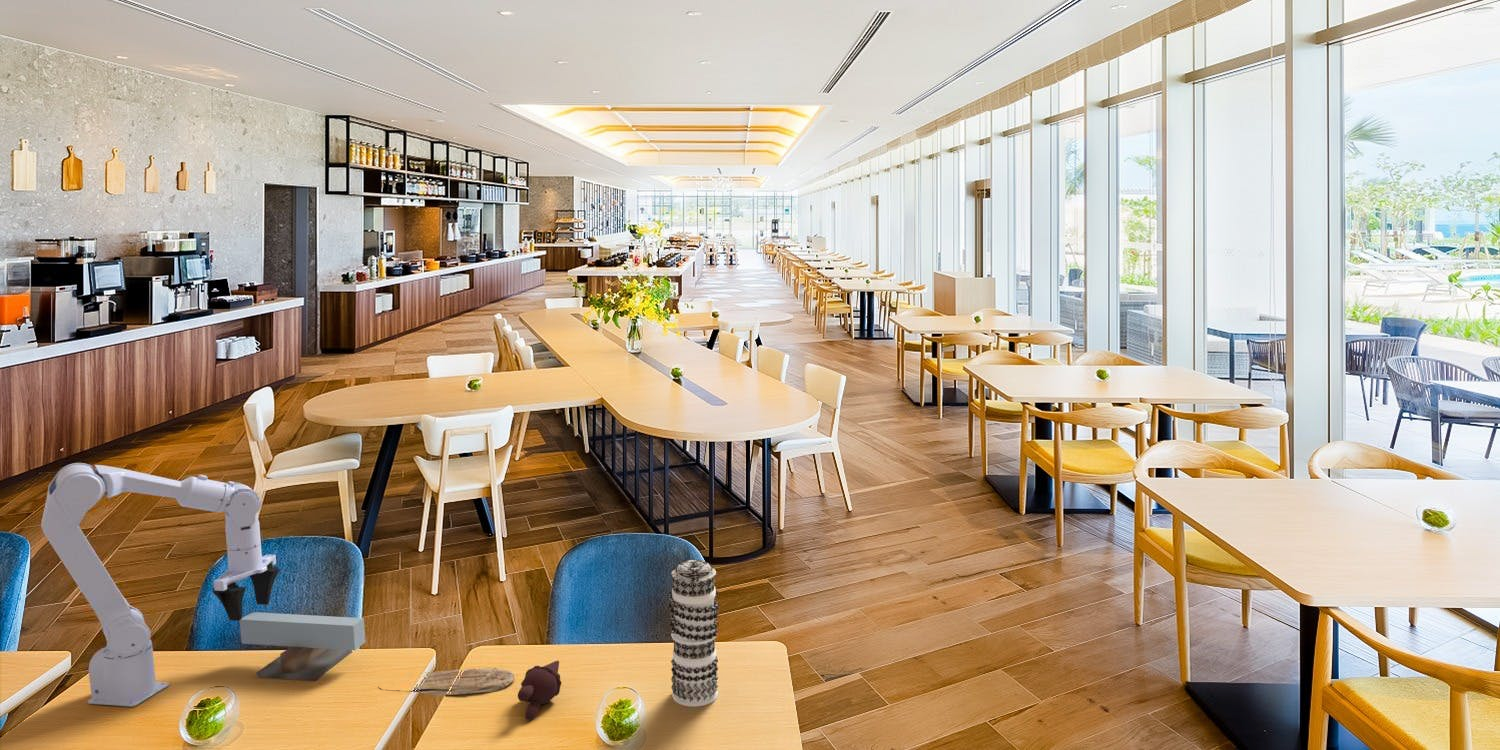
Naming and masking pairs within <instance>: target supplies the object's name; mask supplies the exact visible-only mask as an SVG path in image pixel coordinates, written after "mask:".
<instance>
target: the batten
mask: <svg viewBox="0 0 1500 750" xmlns="http://www.w3.org/2000/svg"><path fill="white" fill-rule="evenodd" d="M239 628H240V639H241V644H243V645H244V644H246V645H260V646H261V645H262V646H277V647H278V646H279V647H291V646H292V647H309V648H325V649H342V650H352V651H356V650H357V649H359V648H360V647H362V645H363V644H365V643H366V630H365V618H364V617H350V616H349V617H347V616H329V615H328V616H327V615H313V614H291V613H274V612H259V611H258V612H257V611H251V612H249V613H248V614H246V615H245V616H242V619H241V620H239Z"/></svg>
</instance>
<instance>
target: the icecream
mask: <svg viewBox="0 0 1500 750" xmlns="http://www.w3.org/2000/svg"><path fill="white" fill-rule="evenodd" d="M559 667H560V661H559V660H555V661H552V662H550V663H548V664H546V665H544V666H540V665H534V666H533V667H532V668H529V669H527V670H526V672H525V676H524V679H523V680H522V681H521V683H520V684H521V685H520V686H521V687H520V689H519V691H518V692H517V698H518V701H519V702H527V703H528V705H527V706H526V710H525V714H524V718H525V720H527V721H531V720H533V719H534V718H535V716H536V715H537V714H538V711H539V707H540V706H541V705H542V706H543V705H546V704H548V703H549V702H551V701H552V700H553V699H554V698H555V697H556V696H558V695H559V694H560V691H561V686H562V681H561V675H560V673H559Z"/></svg>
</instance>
